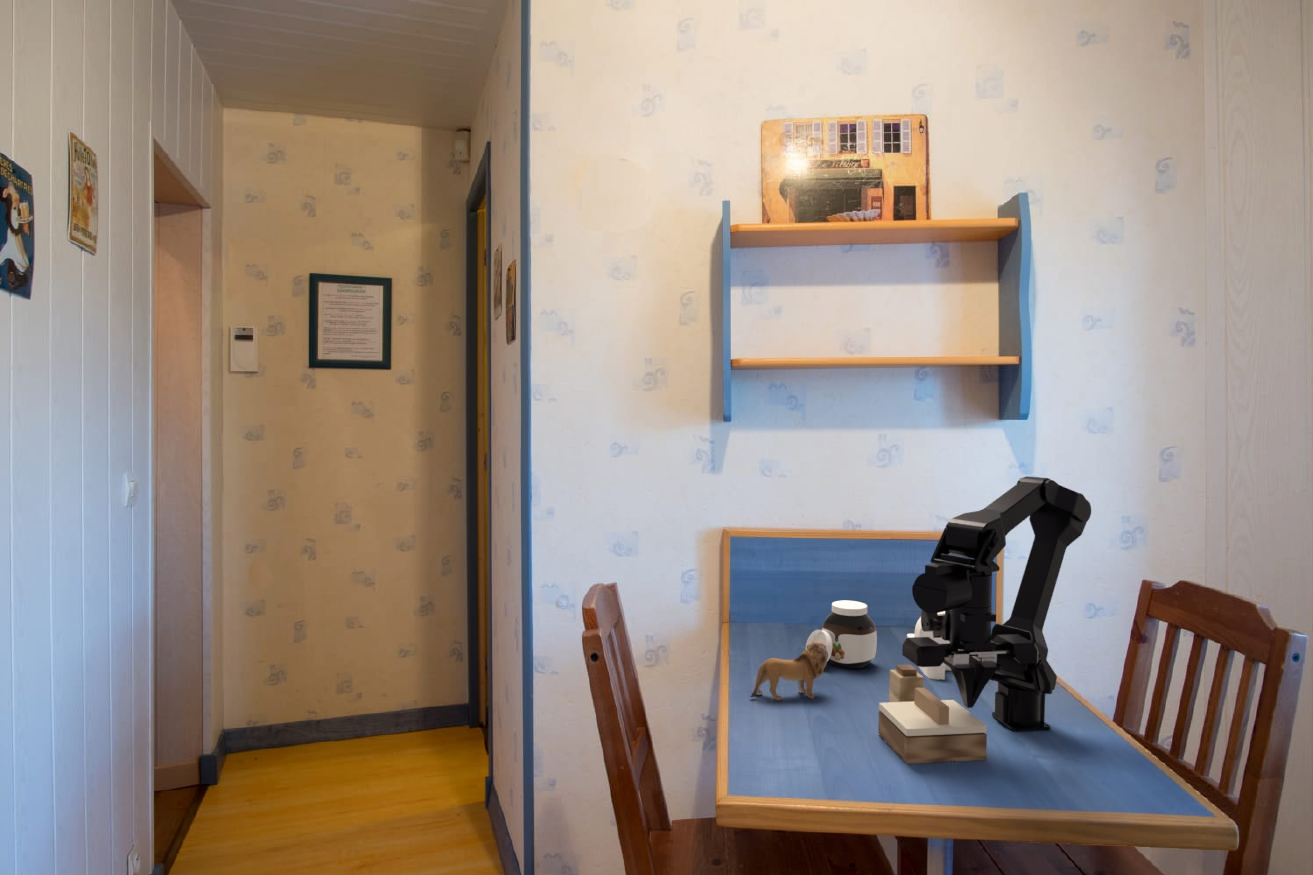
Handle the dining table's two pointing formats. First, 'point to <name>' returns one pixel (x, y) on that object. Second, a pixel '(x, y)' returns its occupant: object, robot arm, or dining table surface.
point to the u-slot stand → (937, 671)
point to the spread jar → (847, 635)
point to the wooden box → (932, 745)
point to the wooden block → (904, 683)
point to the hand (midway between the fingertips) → (968, 706)
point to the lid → (931, 716)
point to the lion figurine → (794, 670)
